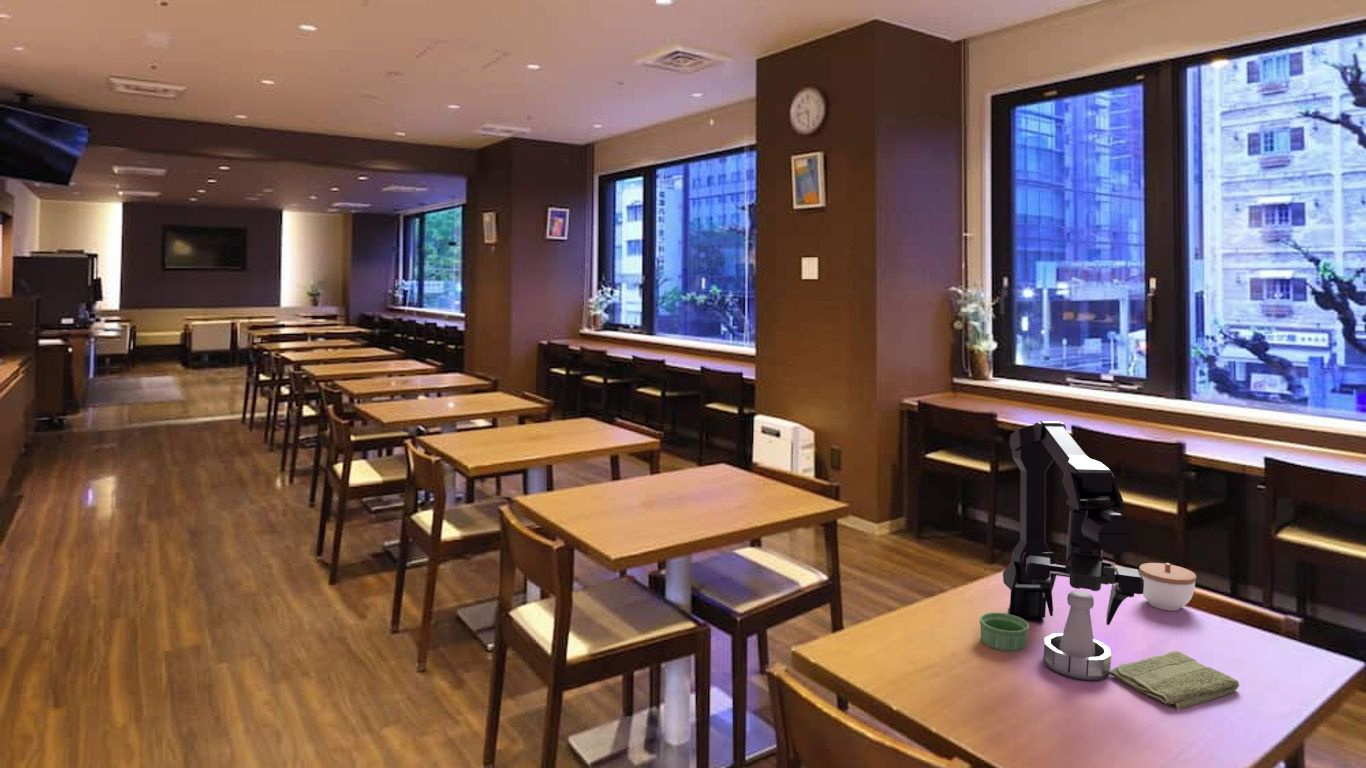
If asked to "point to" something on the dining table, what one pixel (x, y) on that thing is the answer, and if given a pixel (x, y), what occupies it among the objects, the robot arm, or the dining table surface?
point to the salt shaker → (1078, 626)
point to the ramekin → (1003, 631)
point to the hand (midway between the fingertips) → (1079, 619)
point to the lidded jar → (1167, 585)
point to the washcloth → (1175, 679)
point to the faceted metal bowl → (1076, 661)
